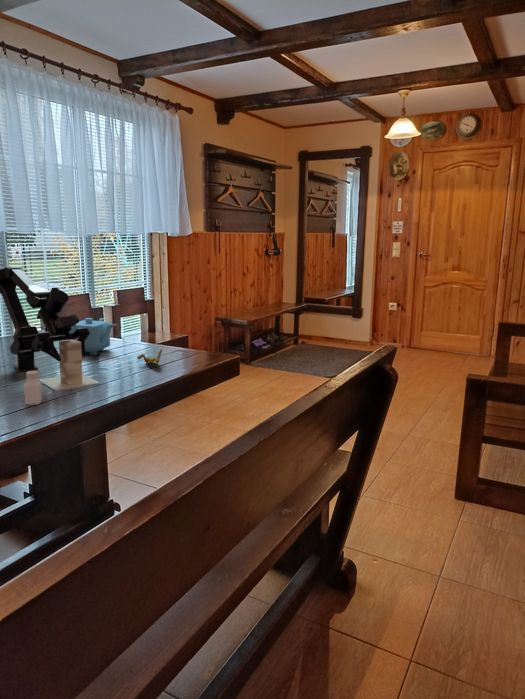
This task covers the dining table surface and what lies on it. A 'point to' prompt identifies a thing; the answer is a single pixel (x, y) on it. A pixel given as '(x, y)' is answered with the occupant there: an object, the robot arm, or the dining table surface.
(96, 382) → the sage mat
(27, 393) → the pepper shaker
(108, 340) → the teakettle
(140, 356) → the origami crane
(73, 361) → the birch block
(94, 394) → the dining table surface
